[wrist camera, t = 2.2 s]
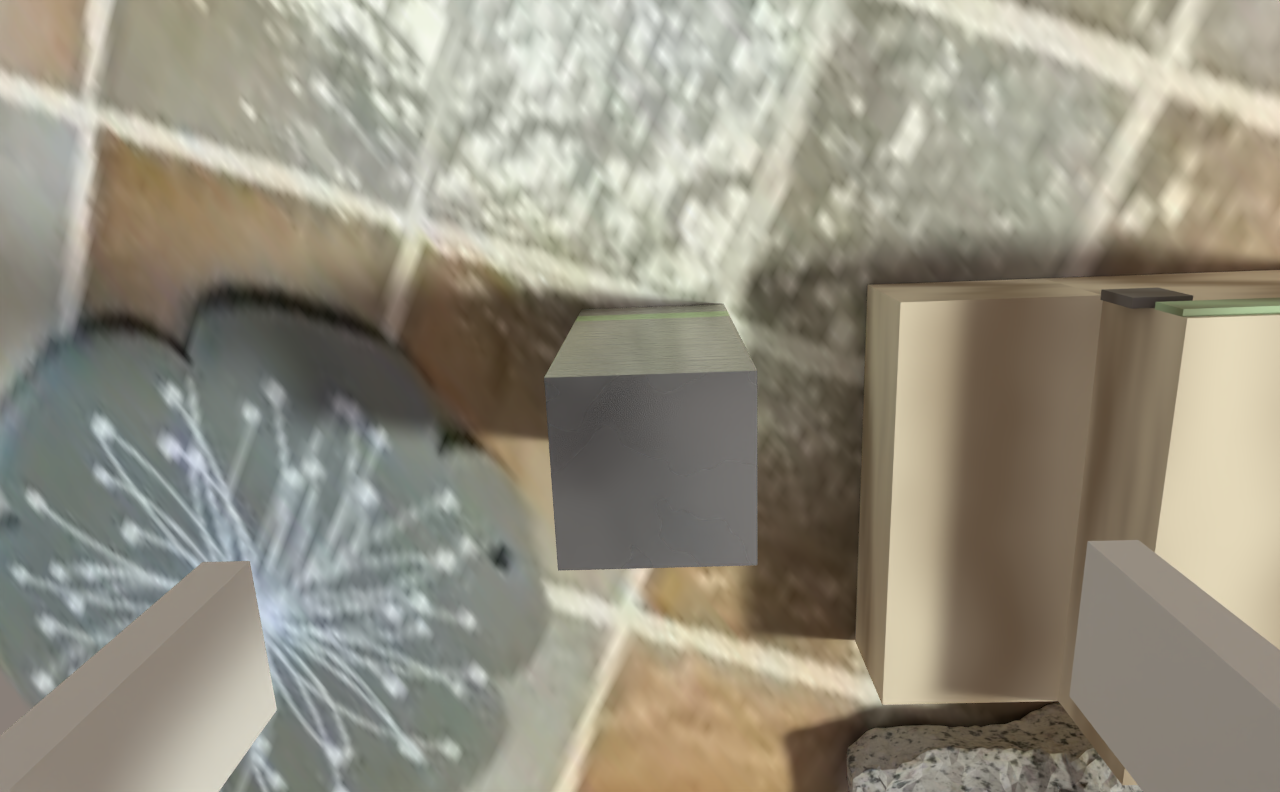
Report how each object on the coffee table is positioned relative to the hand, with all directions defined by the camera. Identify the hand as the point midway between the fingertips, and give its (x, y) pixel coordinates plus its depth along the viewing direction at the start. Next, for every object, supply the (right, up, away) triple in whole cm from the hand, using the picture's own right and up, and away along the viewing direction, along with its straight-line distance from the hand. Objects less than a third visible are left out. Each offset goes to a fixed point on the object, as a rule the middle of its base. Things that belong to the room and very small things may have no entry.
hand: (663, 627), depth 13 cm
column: (0, +4, +17) cm, 17 cm away
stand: (+16, +1, +17) cm, 24 cm away
